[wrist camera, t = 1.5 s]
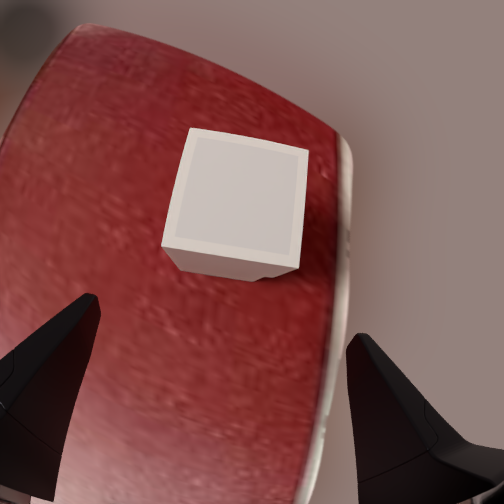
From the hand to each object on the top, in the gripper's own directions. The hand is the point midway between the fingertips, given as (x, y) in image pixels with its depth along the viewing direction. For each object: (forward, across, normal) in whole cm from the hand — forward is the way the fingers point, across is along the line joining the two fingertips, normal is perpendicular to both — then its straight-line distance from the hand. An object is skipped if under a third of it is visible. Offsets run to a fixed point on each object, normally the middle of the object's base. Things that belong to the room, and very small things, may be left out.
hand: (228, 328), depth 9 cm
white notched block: (+13, 0, +5) cm, 13 cm away
